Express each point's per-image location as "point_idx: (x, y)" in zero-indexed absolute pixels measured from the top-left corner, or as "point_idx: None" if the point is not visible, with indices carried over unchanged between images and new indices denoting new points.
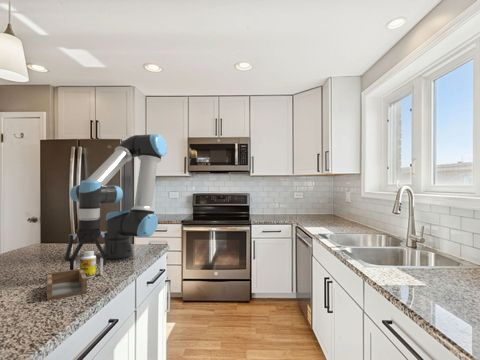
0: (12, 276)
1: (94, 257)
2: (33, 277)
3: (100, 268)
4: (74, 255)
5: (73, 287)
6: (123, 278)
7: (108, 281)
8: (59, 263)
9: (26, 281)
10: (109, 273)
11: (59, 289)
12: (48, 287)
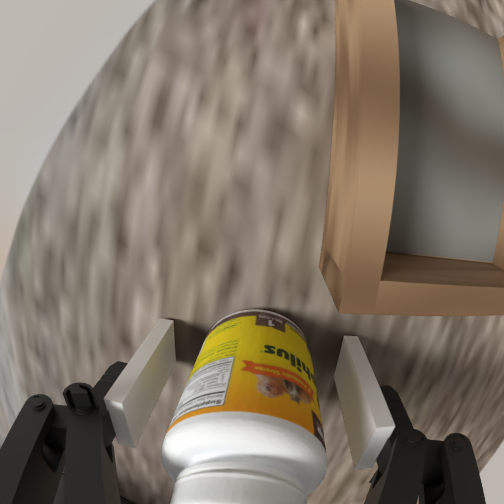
0: None
1: (181, 428)
2: None
3: (159, 361)
4: (408, 483)
5: (412, 88)
6: (62, 157)
7: (151, 141)
8: None
9: (488, 410)
10: (119, 331)
11: (479, 118)
12: None
